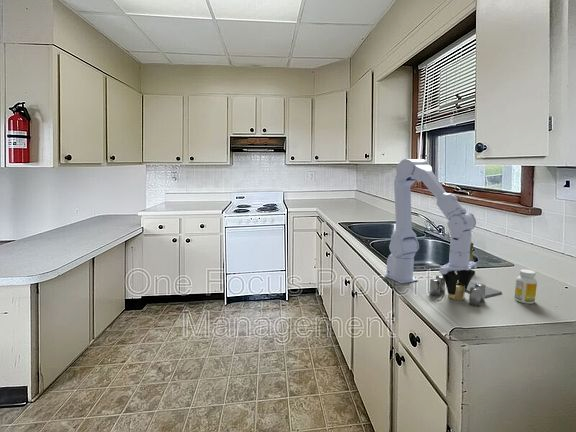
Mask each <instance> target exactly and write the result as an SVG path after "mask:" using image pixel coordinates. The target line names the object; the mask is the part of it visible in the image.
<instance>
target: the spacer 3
mask: <svg viewBox="0 0 576 432" xmlns="http://www.w3.org/2000/svg"><path fill="white" fill-rule="evenodd" d="M468 297H469V299H468V305H469V306H471V307H477V308H478V307H481V302H480V299H481V289H480V288H476V287H471V288H470V293H469V296H468Z"/></svg>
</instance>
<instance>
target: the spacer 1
mask: <svg viewBox="0 0 576 432" xmlns="http://www.w3.org/2000/svg"><path fill="white" fill-rule="evenodd" d="M440 293H441V292H440V280H439V279H436V278H430V281H429V296H431V297H436V298H437V297H440Z"/></svg>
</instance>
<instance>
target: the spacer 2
mask: <svg viewBox="0 0 576 432" xmlns="http://www.w3.org/2000/svg"><path fill="white" fill-rule="evenodd" d="M435 279H439V280H440V293H445V292H446V282H445V280H444V277H443V275H442V274H439V275H435Z"/></svg>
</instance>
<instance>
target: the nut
mask: <svg viewBox="0 0 576 432" xmlns="http://www.w3.org/2000/svg"><path fill="white" fill-rule="evenodd" d="M465 294H466V292H465V284H463V283H460V282H457V285H456V291H455V294H454V295H452V294H449V293H448V292H447V298H449V299H452V300H454V301H463V300H464V299H465Z"/></svg>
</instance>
